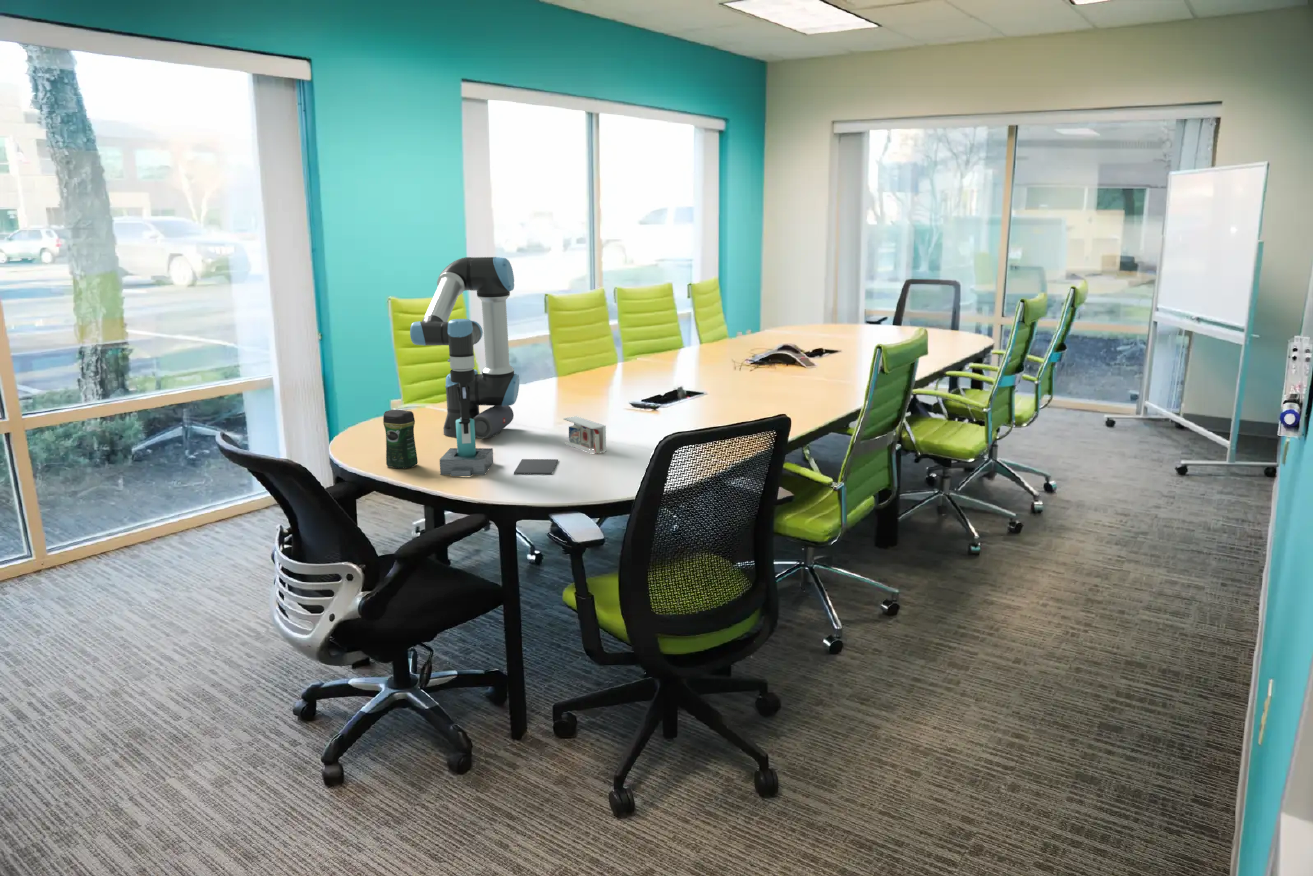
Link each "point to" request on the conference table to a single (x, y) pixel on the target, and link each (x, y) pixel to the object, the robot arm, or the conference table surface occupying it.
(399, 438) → the coffee jar
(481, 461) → the housing
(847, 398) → the conference table surface
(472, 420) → the teal cylinder
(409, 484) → the conference table surface
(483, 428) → the bluetooth speaker
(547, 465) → the mat
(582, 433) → the cigarette display
